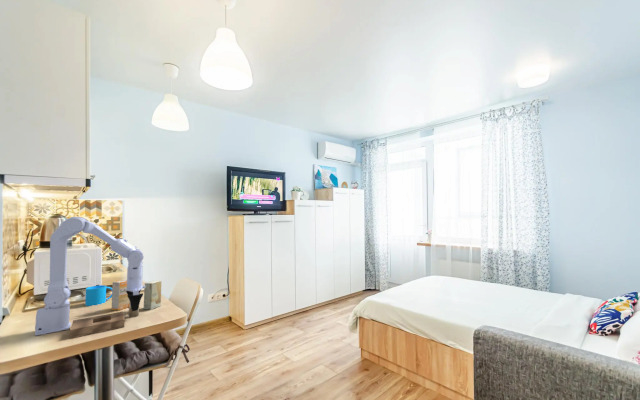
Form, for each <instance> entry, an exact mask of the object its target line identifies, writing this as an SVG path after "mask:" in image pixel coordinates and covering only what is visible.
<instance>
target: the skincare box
mask: <svg viewBox="0 0 640 400" xmlns="http://www.w3.org/2000/svg"><path fill="white" fill-rule="evenodd" d="M144 285H145V288H143V289H144V291H143V310H153V309H156V308H159V307H161V305H162V280H151V281H148V282H145V283H144Z"/></svg>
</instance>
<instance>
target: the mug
mask: <svg viewBox="0 0 640 400" xmlns="http://www.w3.org/2000/svg"><path fill="white" fill-rule="evenodd" d="M107 289H109V290H111V291H112V286H107V285H106V284H105V285H103V284H102V285H93V286H88V287H86V288H85V295H84V296H85V299H84V305H86V307H92V305H94V306H98V304H99V305H103V304H106V302H107V301H108V300H110V299H112V293H111V294H110V296H109V297H107ZM102 303H103V304H102Z"/></svg>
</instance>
